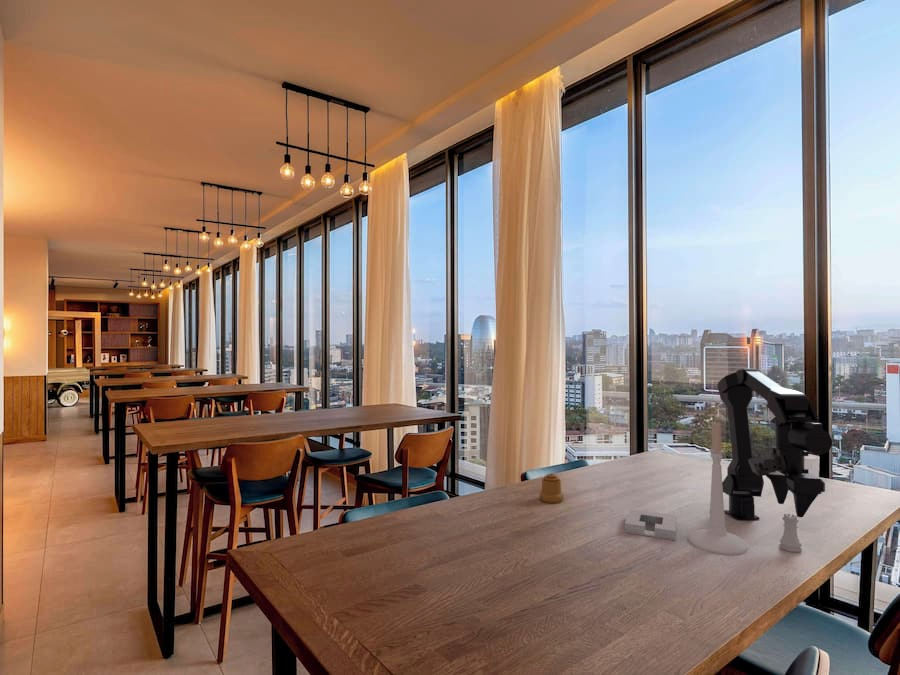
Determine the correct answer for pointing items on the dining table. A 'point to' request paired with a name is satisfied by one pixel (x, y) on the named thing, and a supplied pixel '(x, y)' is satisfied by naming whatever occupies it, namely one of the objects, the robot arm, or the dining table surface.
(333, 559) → the dining table surface
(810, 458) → the white cup
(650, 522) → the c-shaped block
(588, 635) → the dining table surface
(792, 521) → the rook chess piece
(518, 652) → the dining table surface
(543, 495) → the ornamental finial
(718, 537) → the candlestick
